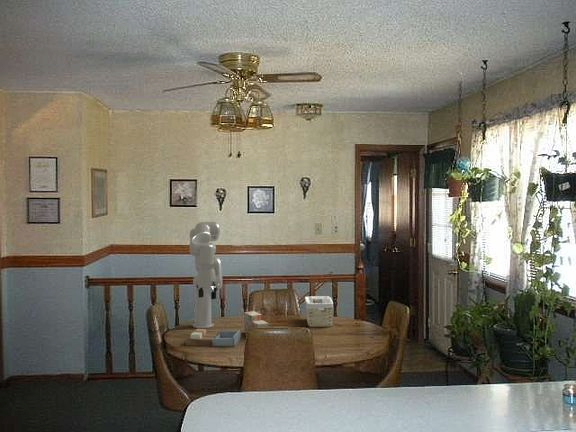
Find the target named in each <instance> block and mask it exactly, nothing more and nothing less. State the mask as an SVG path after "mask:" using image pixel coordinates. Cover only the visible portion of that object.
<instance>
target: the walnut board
mask: <svg viewBox="0 0 576 432" xmlns="http://www.w3.org/2000/svg"><path fill="white" fill-rule="evenodd" d="M218 335H219V333H218V332H206V334H205V335H204V336H202V338H201V339H191V334H190V335H189V336H188V337H187V338H185V341H184V342H185V346H201V347H202V346H207V347H213V346H212V338H216V337H217V336H218Z"/></svg>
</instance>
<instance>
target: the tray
mask: <svg viewBox="0 0 576 432" xmlns="http://www.w3.org/2000/svg"><path fill="white" fill-rule="evenodd" d="M218 332H219V333H218V336H217V337H216V338H212V346H211V347H225V348H226V347H228V348H231V347H232V348H233V347H236V346H237V345H238V343H239V342H240V340H242V330H241V328H240V329H239V330H219V331H218Z"/></svg>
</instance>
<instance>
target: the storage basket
mask: <svg viewBox="0 0 576 432" xmlns="http://www.w3.org/2000/svg"><path fill="white" fill-rule="evenodd" d="M304 301H305V307H306V308H305V309H306V322H307V325H308V326H309V327H311V328H312V327H313V328H314V327H316V328H317V327H319V328H320V327H323V328H324V327H328V328H329V327H332V326H333V308H334V302H333V299H332V297H331V296H328V295H322V296H320V295H316V296H315V295H314V296H313V295H312V296H305V297H304ZM315 301H322V302H321V303H320V302H317V303H316V302H315ZM314 302H315V303H314Z"/></svg>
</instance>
